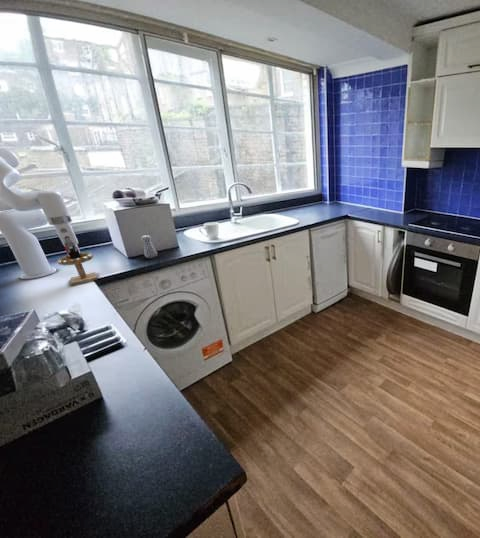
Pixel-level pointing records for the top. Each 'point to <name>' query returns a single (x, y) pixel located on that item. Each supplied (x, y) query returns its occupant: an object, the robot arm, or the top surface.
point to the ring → (68, 261)
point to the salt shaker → (148, 247)
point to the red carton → (68, 251)
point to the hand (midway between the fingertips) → (76, 258)
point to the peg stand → (82, 276)
